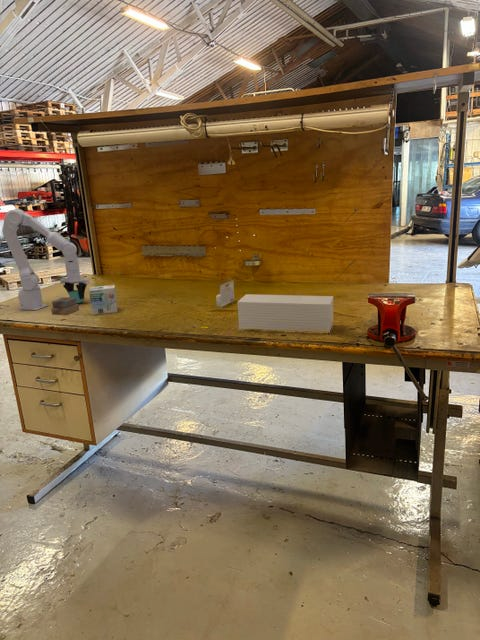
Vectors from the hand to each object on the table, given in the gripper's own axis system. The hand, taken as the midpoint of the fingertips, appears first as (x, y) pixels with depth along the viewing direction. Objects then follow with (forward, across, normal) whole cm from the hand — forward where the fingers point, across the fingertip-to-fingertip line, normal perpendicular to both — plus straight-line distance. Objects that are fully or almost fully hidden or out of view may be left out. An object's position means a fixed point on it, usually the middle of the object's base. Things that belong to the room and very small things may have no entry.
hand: (77, 298), depth 211 cm
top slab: (0, -4, +14) cm, 14 cm away
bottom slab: (+3, -4, +14) cm, 15 cm away
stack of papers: (+2, -104, +21) cm, 106 cm away
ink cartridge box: (+2, -71, -7) cm, 71 cm away
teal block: (+1, 0, 0) cm, 1 cm away
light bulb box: (+2, -22, +11) cm, 25 cm away
